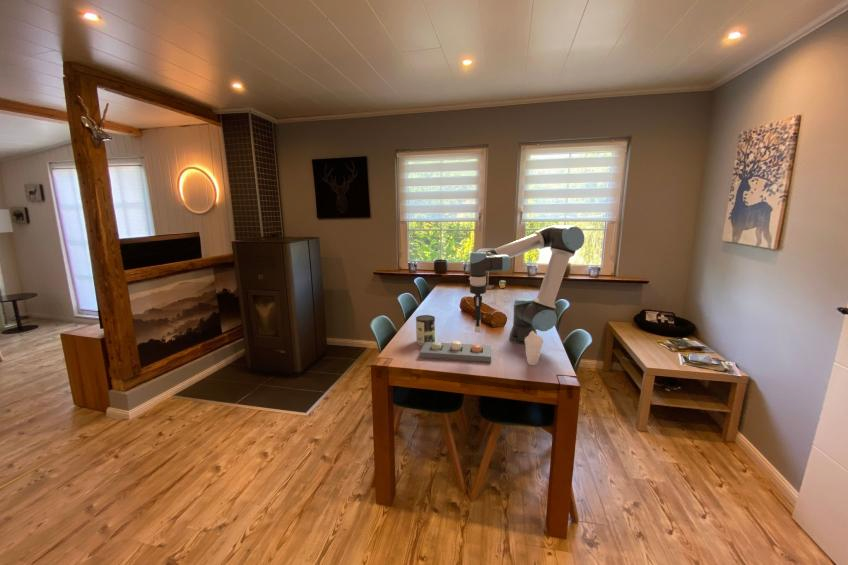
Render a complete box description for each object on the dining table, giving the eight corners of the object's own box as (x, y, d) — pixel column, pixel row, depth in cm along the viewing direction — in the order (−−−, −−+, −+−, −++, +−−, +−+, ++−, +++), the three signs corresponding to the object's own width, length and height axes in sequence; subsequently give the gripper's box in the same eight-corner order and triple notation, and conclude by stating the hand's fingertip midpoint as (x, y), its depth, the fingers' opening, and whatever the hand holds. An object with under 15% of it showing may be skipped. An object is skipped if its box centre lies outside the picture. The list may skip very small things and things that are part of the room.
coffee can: (436, 339, 192) (436, 315, 190) (433, 346, 182) (433, 321, 180) (418, 338, 194) (418, 314, 192) (414, 345, 184) (413, 320, 182)
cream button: (461, 348, 173) (461, 341, 172) (460, 352, 168) (461, 344, 168) (451, 348, 174) (451, 340, 173) (450, 351, 169) (450, 344, 169)
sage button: (441, 349, 175) (441, 342, 174) (440, 353, 170) (440, 345, 170) (432, 349, 176) (432, 341, 175) (430, 352, 171) (430, 345, 171)
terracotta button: (481, 352, 172) (481, 344, 171) (481, 356, 167) (481, 348, 166) (471, 351, 173) (471, 343, 172) (471, 355, 168) (471, 347, 167)
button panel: (490, 351, 175) (490, 345, 175) (491, 362, 162) (491, 356, 161) (425, 347, 181) (425, 341, 181) (420, 358, 168) (420, 352, 167)
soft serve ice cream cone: (538, 359, 165) (539, 327, 162) (544, 367, 157) (546, 333, 153) (520, 360, 164) (522, 328, 161) (526, 367, 156) (528, 334, 153)
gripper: (470, 281, 170) (470, 327, 175) (469, 287, 157) (469, 336, 162) (486, 281, 168) (485, 327, 173) (485, 287, 156) (485, 337, 161)
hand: (477, 331), depth 168 cm, fingers closed
